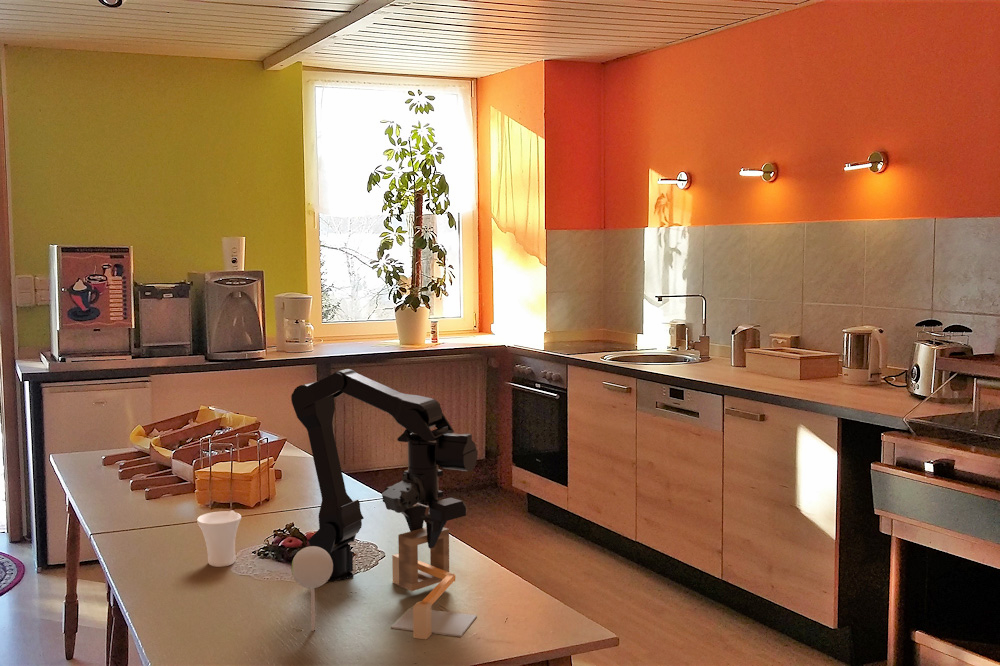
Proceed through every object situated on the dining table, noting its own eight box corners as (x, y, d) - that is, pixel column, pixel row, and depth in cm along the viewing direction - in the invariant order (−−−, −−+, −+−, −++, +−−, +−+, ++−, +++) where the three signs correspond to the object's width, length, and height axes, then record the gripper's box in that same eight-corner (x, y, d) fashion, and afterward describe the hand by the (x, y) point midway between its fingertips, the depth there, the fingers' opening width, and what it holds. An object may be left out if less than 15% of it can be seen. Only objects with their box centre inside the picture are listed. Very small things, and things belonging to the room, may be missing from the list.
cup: (252, 558, 210) (251, 512, 209) (222, 572, 201) (221, 524, 200) (219, 552, 214) (217, 507, 212) (189, 565, 205) (187, 519, 204)
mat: (409, 608, 182) (409, 607, 182) (476, 616, 179) (476, 615, 179) (390, 628, 174) (390, 626, 174) (461, 636, 170) (461, 635, 170)
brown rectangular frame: (399, 585, 189) (398, 534, 187) (436, 573, 195) (435, 524, 194) (412, 591, 186) (411, 539, 185) (449, 578, 192) (448, 528, 191)
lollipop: (295, 622, 176) (293, 541, 174) (335, 621, 177) (334, 540, 175) (290, 639, 169) (288, 554, 167) (332, 638, 170) (330, 553, 168)
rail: (417, 641, 168) (417, 609, 168) (358, 587, 193) (357, 560, 192) (485, 626, 175) (485, 595, 174) (420, 576, 199) (419, 549, 199)
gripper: (359, 464, 189) (360, 543, 191) (421, 482, 175) (422, 567, 177) (405, 454, 197) (406, 530, 198) (468, 471, 183) (468, 553, 185)
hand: (424, 545), depth 189 cm, fingers closed on brown rectangular frame, 4 cm apart
